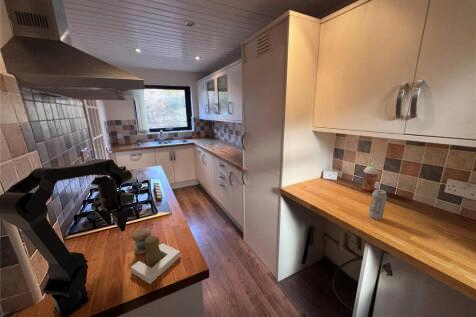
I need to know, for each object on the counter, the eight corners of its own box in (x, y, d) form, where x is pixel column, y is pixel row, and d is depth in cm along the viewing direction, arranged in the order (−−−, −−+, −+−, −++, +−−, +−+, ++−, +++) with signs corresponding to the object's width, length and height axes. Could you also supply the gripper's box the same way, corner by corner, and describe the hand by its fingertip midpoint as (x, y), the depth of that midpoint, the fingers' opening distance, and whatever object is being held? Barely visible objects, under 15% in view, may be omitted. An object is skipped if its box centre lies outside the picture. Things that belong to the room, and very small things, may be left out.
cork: (157, 254, 78) (154, 231, 75) (166, 261, 75) (163, 237, 72) (143, 263, 74) (138, 239, 71) (151, 271, 70) (147, 246, 67)
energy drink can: (384, 219, 100) (390, 192, 96) (376, 221, 98) (381, 194, 94) (373, 213, 105) (378, 188, 101) (365, 215, 104) (370, 189, 100)
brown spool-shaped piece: (141, 257, 77) (139, 241, 75) (131, 250, 80) (128, 235, 78) (156, 246, 83) (154, 231, 81) (145, 240, 86) (143, 226, 84)
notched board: (150, 284, 65) (149, 278, 65) (131, 272, 70) (130, 267, 69) (180, 256, 77) (179, 251, 76) (163, 248, 82) (162, 243, 81)
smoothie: (357, 188, 136) (361, 161, 131) (366, 186, 138) (371, 160, 133) (368, 193, 128) (373, 164, 123) (377, 191, 131) (383, 163, 125)
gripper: (143, 188, 74) (149, 223, 79) (115, 180, 83) (122, 212, 87) (114, 200, 65) (122, 239, 69) (86, 189, 74) (95, 225, 78)
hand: (116, 227), depth 76 cm, fingers open, 9 cm apart
